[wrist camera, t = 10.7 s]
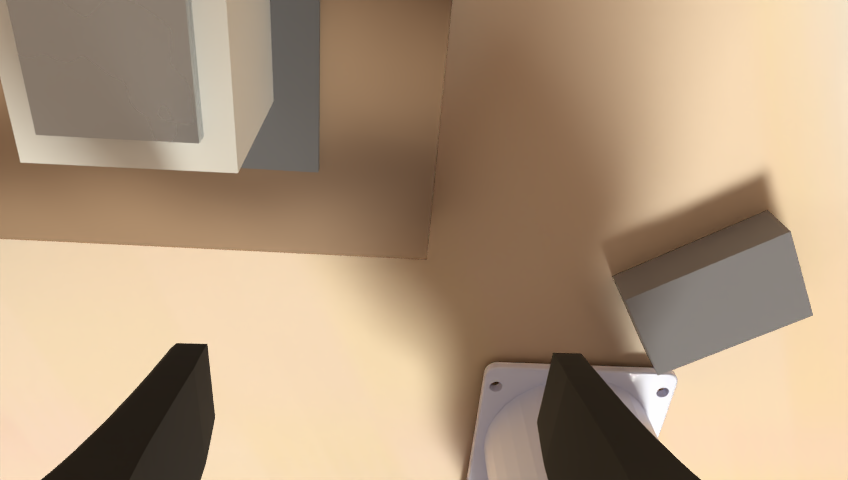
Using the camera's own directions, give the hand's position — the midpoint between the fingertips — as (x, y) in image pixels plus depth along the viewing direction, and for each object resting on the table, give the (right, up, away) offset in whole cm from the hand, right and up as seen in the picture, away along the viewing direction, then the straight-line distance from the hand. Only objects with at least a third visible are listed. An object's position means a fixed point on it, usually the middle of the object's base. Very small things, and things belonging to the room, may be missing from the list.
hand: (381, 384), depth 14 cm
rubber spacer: (+12, +2, +12) cm, 17 cm away
